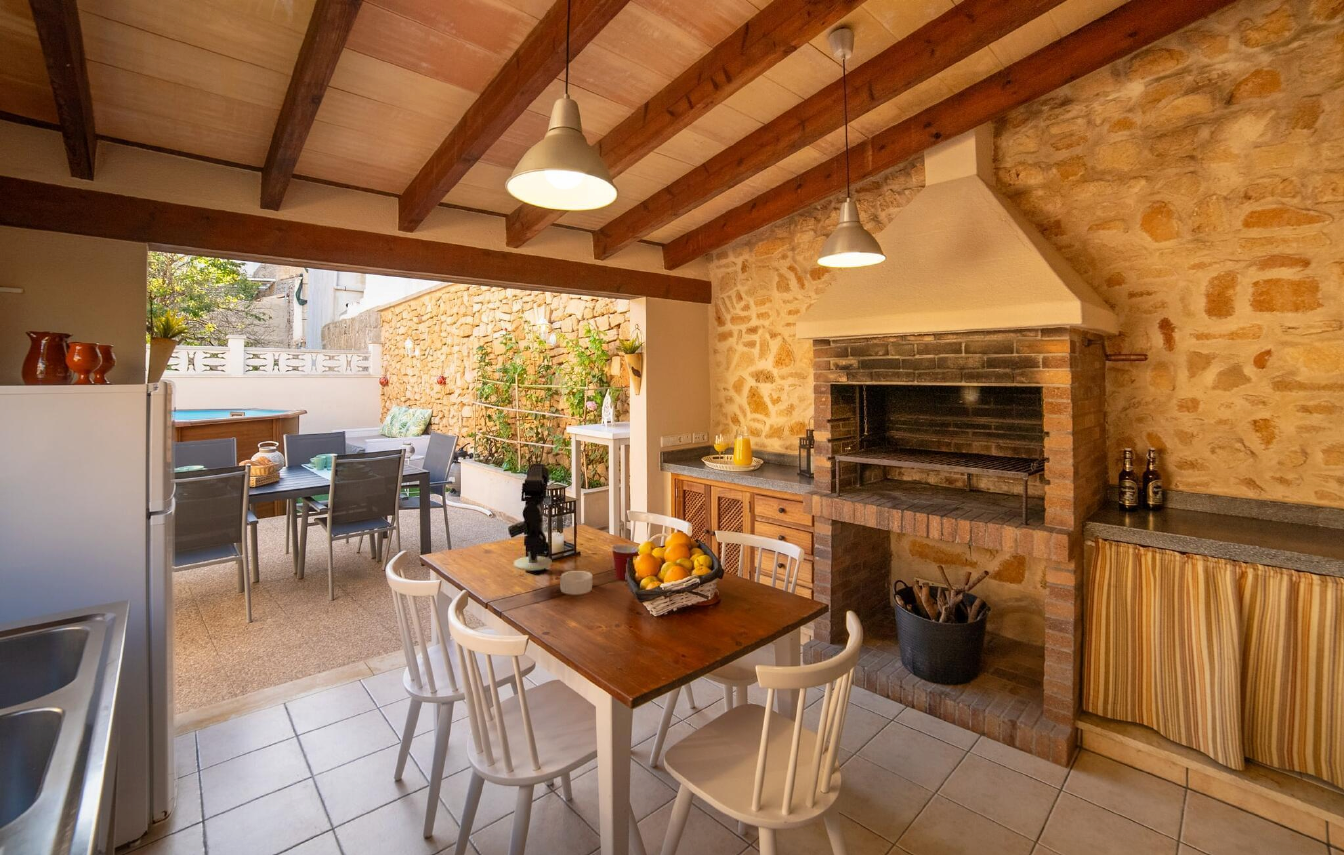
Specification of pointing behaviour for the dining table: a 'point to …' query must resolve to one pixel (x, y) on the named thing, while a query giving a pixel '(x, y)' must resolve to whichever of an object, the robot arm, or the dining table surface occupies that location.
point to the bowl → (576, 582)
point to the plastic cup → (622, 558)
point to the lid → (532, 563)
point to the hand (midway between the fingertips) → (533, 558)
